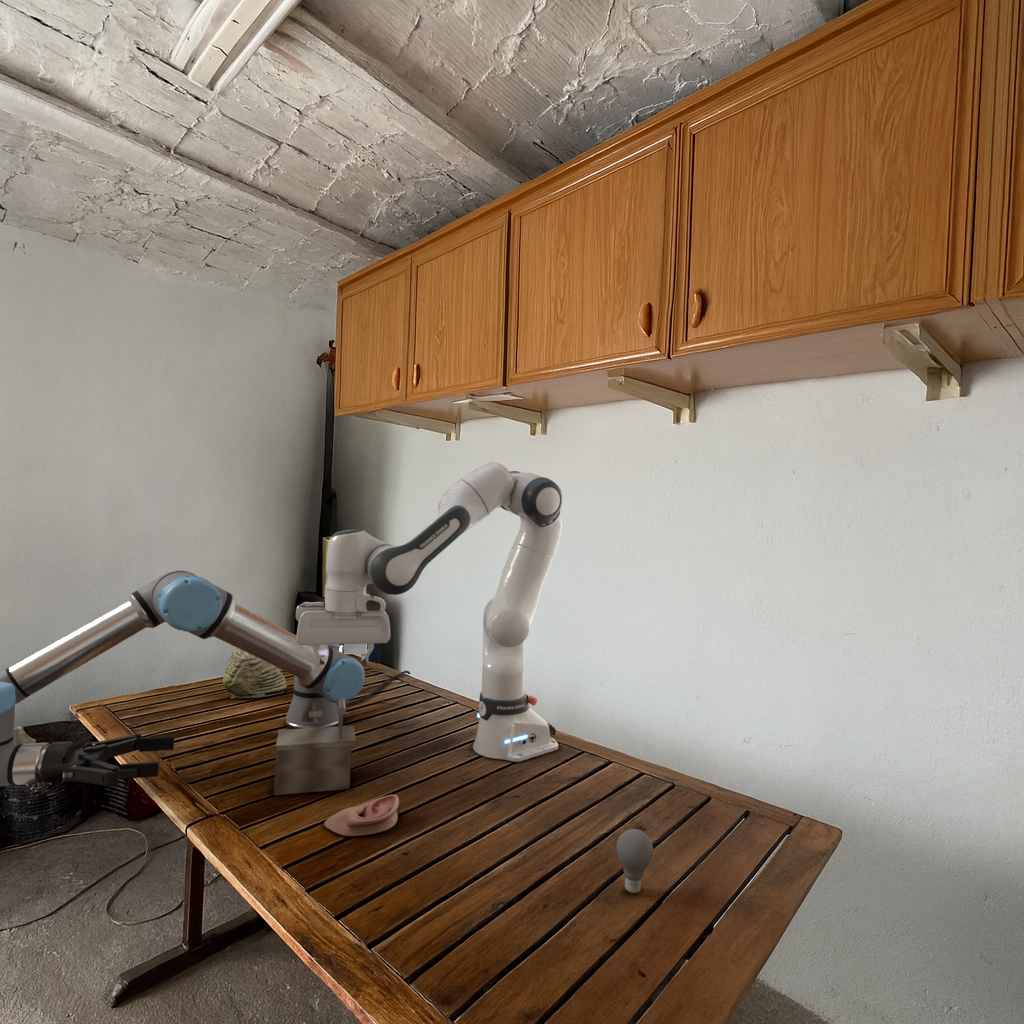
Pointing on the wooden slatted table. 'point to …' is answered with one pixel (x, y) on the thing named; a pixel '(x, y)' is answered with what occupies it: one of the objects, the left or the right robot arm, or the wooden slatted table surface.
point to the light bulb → (634, 857)
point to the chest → (312, 770)
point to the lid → (318, 735)
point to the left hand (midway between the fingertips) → (166, 755)
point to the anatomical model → (365, 817)
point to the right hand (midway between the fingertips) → (343, 663)
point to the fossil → (252, 676)
